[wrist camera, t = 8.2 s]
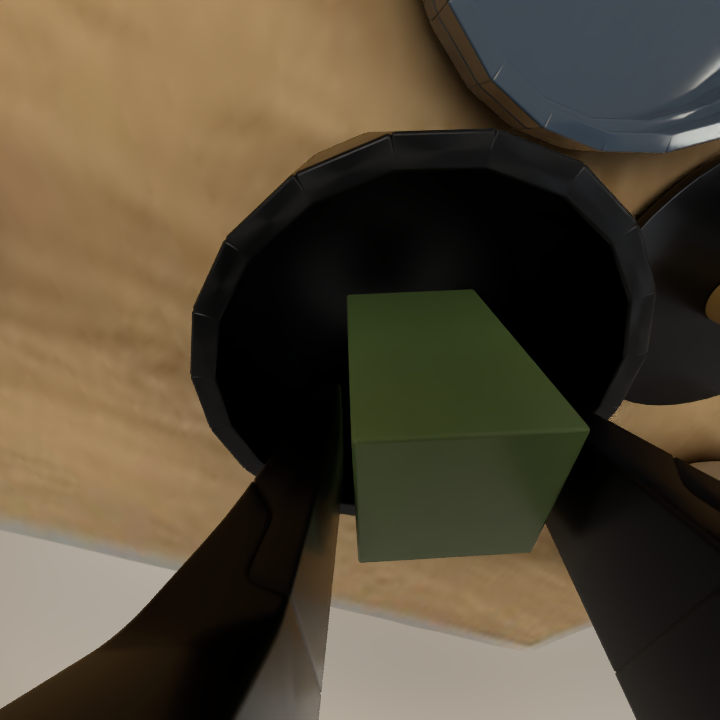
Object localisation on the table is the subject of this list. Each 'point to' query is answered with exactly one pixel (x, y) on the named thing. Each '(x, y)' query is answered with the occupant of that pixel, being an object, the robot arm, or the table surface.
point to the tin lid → (683, 293)
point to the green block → (450, 429)
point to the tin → (418, 275)
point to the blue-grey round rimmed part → (591, 68)
